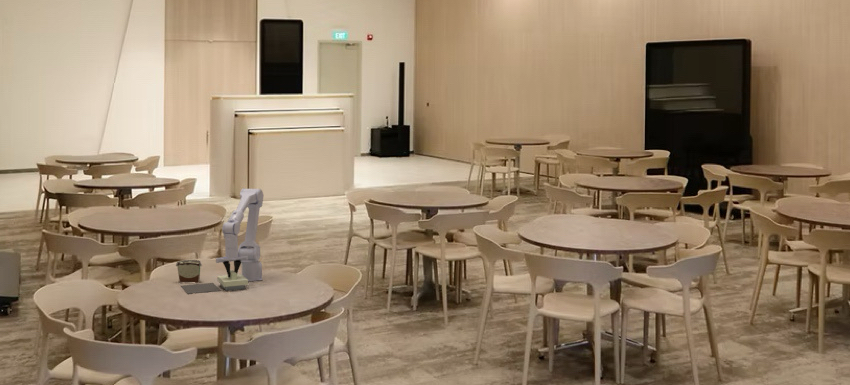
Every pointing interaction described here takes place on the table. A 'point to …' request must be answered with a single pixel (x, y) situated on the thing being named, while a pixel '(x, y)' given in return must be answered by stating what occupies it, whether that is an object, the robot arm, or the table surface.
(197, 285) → the rubber mat
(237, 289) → the storage box
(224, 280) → the lid
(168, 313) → the table surface
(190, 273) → the food container
